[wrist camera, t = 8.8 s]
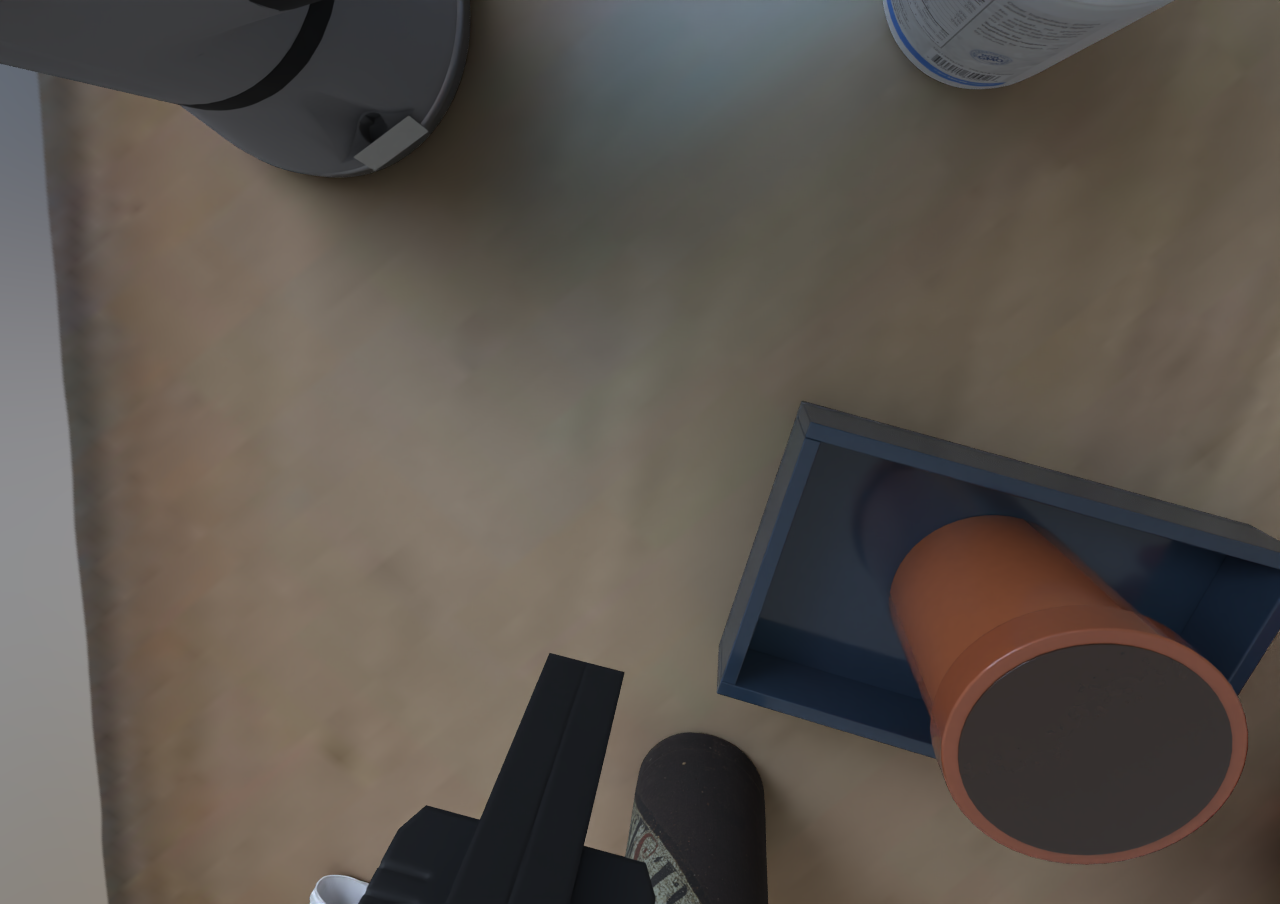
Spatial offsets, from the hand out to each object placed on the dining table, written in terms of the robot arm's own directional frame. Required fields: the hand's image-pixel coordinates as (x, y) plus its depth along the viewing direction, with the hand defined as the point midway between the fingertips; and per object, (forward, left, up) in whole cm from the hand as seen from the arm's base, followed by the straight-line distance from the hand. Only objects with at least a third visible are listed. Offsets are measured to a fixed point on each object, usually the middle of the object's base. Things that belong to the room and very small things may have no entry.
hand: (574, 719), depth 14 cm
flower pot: (+5, +13, -22) cm, 26 cm away
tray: (+5, +18, -25) cm, 32 cm away
